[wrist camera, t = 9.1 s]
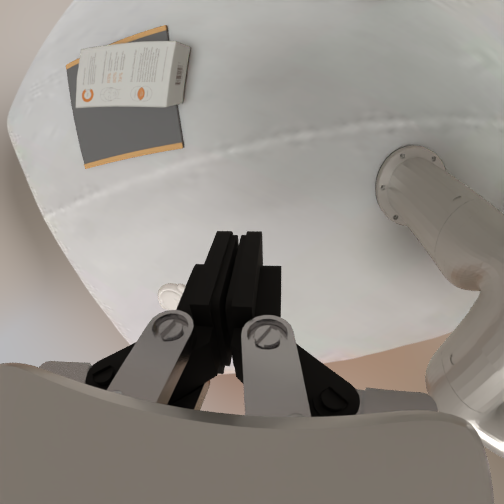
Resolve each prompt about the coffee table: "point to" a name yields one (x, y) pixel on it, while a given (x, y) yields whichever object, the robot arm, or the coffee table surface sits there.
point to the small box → (132, 75)
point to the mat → (124, 121)
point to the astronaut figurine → (170, 295)
